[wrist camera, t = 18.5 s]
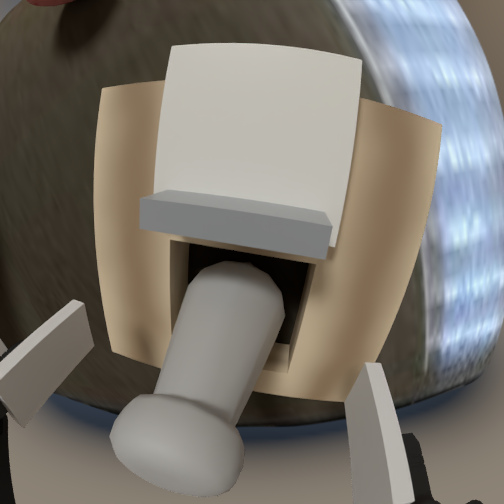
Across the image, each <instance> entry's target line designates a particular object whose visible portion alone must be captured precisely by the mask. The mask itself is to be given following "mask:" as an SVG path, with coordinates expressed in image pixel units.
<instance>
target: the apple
mask: <svg viewBox="0 0 504 504" xmlns="http://www.w3.org/2000/svg"><path fill="white" fill-rule="evenodd" d="M27 1H28V2H29V3H30V4H32V5H36V6H56V5H61V4H66V3H69V2H72V1H74V0H27Z"/></svg>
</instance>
